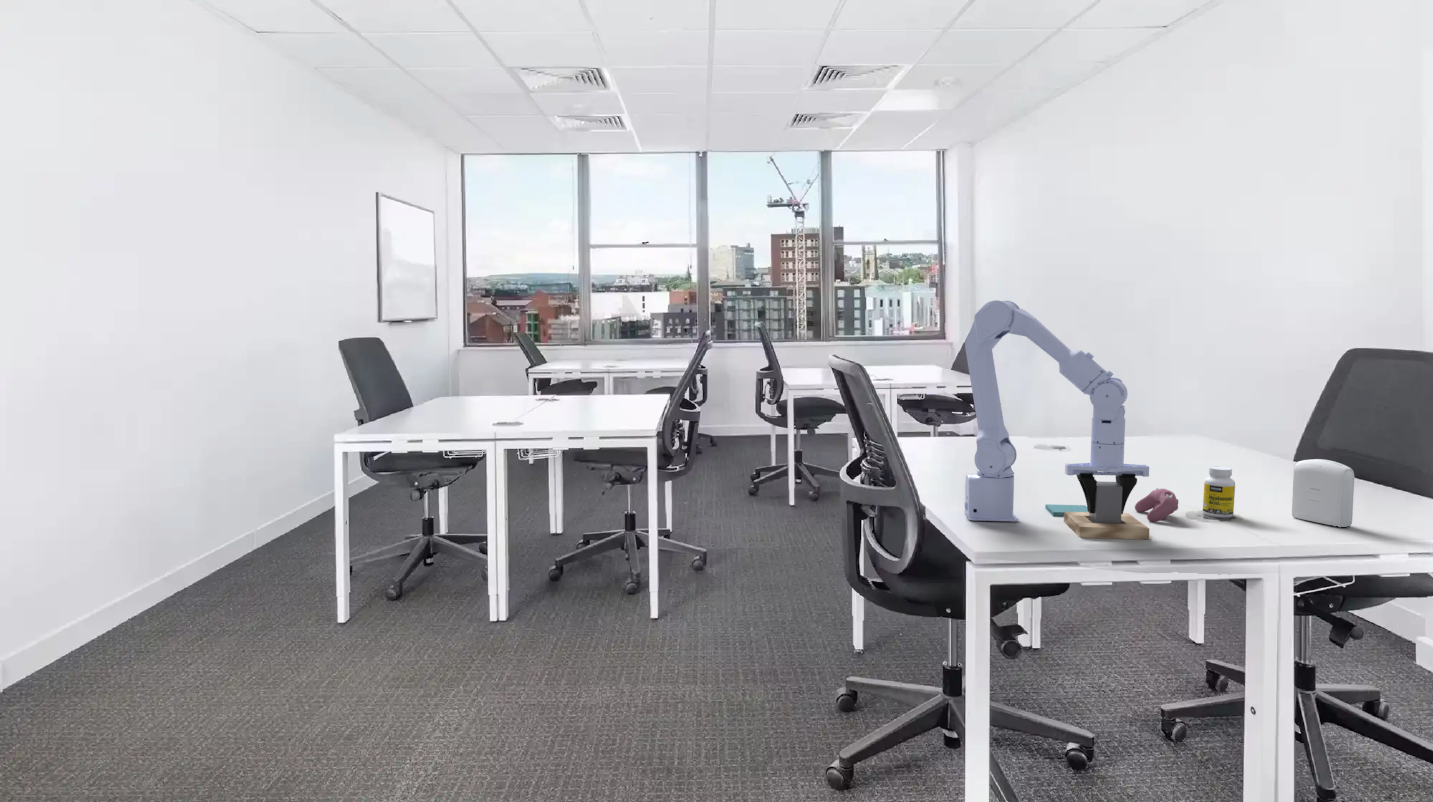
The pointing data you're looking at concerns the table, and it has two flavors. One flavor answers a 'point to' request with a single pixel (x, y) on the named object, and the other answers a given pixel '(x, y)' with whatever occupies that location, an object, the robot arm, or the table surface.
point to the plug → (1107, 503)
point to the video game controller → (1158, 504)
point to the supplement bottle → (1219, 492)
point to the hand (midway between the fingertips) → (1105, 512)
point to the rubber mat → (1065, 509)
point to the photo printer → (1323, 492)
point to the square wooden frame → (1106, 527)
